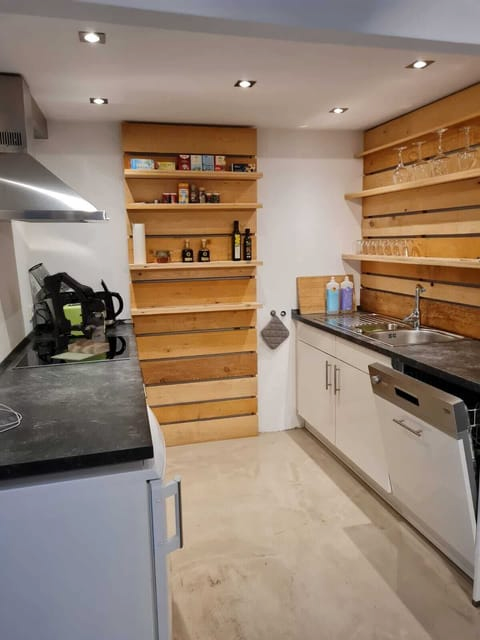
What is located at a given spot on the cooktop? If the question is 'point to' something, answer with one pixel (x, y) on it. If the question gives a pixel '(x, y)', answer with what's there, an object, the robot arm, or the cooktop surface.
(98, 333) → the coffee box
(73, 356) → the sage mat
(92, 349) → the birch riser
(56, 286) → the robot arm
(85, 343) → the walnut tile
